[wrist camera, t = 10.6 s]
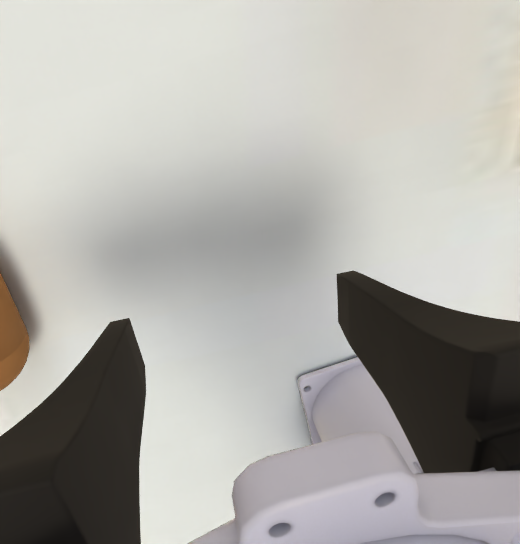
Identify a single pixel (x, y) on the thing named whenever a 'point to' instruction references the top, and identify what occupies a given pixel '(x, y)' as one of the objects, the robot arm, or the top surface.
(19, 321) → the potato
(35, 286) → the top surface
